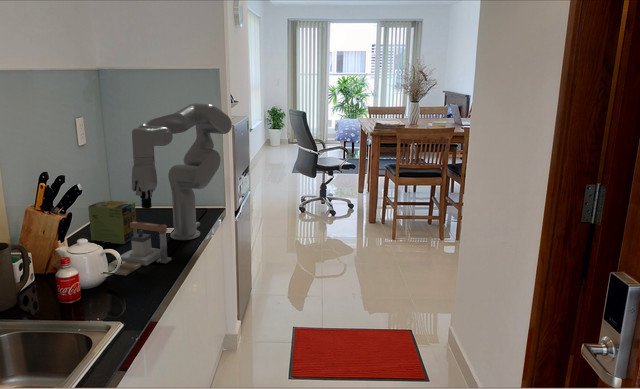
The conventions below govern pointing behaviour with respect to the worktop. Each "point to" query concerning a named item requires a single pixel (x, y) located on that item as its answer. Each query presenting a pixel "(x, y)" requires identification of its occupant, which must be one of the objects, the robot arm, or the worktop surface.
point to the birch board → (124, 267)
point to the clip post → (163, 248)
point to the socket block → (142, 260)
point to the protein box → (112, 221)
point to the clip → (149, 226)
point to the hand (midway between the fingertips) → (146, 207)
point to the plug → (141, 244)
